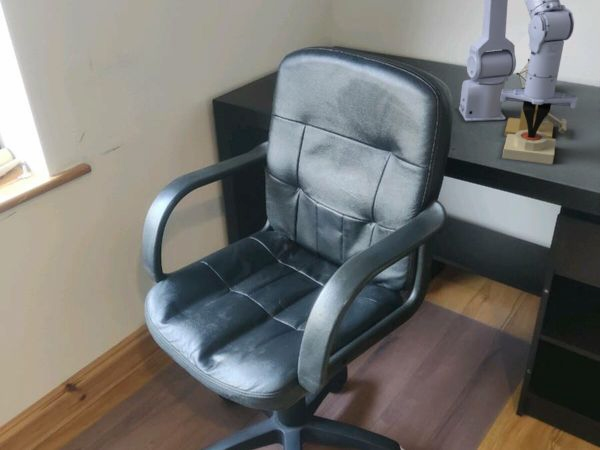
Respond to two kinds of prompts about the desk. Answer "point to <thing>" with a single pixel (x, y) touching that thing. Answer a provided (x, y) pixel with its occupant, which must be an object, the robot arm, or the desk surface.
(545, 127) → the bracket
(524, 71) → the game die
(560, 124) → the lever
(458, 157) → the desk surface
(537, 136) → the button
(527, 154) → the control block
